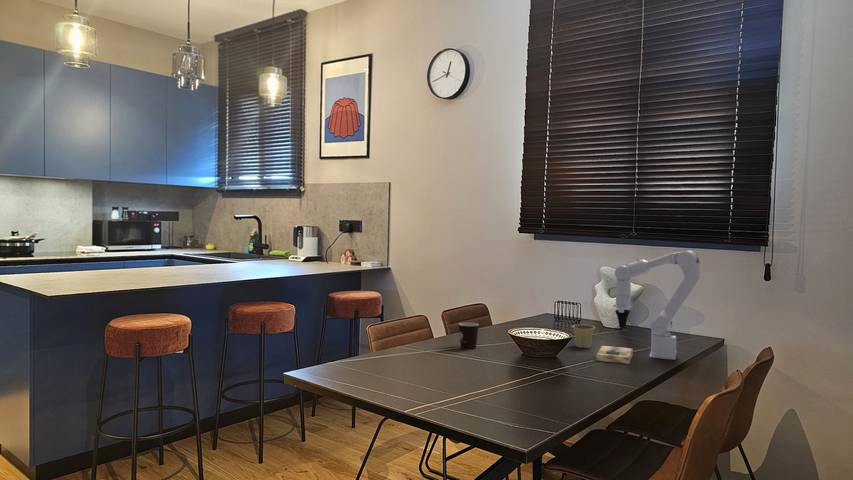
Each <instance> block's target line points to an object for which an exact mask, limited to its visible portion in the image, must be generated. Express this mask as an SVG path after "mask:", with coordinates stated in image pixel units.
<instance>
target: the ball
mask: <svg viewBox="0 0 853 480" xmlns="http://www.w3.org/2000/svg"><path fill="white" fill-rule="evenodd" d="M608 354H613V355H618V353H617V352H616V351H615V350H610V351H609V352H608Z"/></svg>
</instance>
